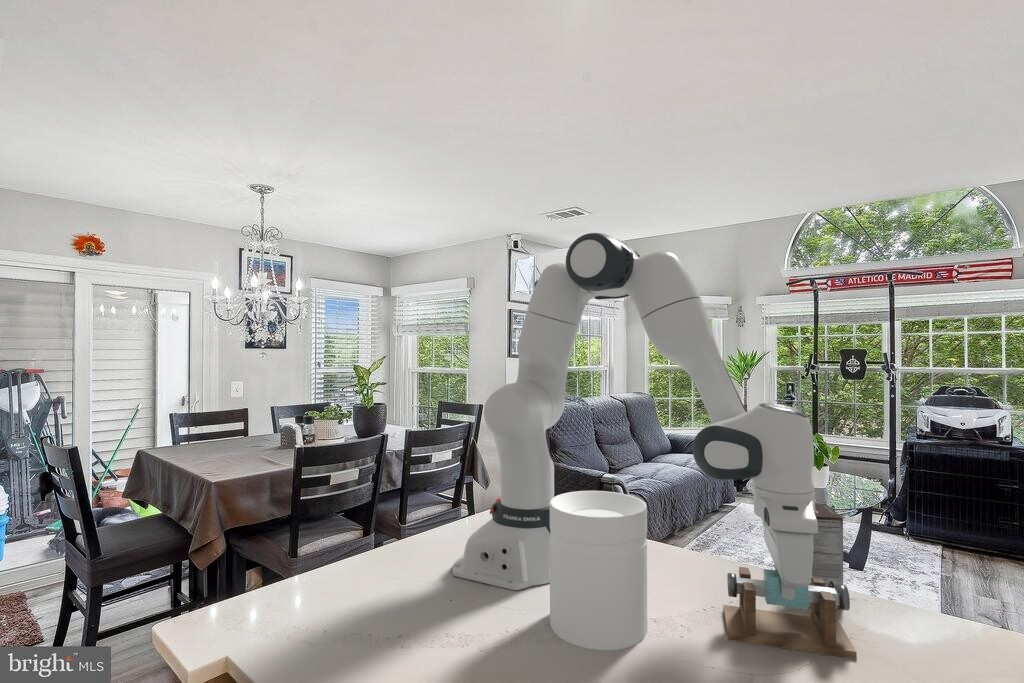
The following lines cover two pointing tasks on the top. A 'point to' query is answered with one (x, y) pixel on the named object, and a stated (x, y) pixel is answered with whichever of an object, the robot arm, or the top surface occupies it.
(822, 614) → the rack
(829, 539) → the coffee box
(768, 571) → the bar
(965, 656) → the top surface
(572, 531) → the canister
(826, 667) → the top surface
